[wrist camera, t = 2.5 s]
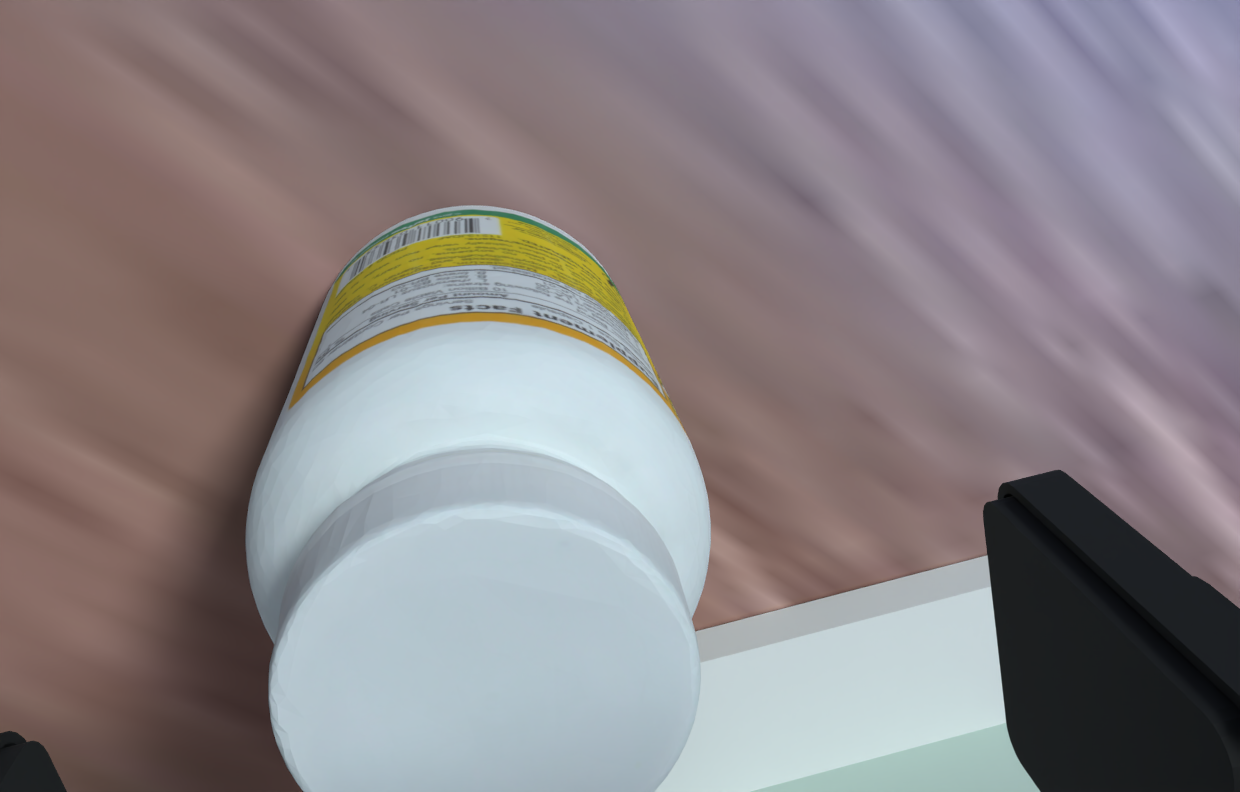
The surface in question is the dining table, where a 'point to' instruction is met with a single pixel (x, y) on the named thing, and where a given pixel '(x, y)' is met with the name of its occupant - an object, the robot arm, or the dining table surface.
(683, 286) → the dining table surface
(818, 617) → the cup holder
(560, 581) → the supplement bottle
